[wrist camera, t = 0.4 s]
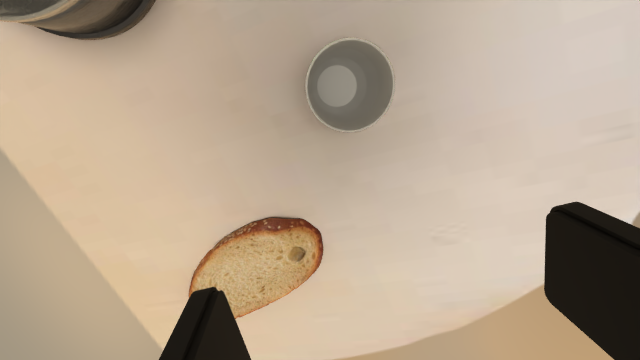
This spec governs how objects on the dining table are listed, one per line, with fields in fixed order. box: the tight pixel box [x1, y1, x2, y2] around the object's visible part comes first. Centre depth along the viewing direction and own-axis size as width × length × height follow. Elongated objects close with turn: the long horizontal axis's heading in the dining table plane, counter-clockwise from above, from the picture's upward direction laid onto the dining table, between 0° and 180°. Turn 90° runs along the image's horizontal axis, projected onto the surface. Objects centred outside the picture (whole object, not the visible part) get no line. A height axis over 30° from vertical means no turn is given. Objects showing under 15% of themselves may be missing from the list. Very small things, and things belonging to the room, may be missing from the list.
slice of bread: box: [189, 218, 323, 319], centre depth 42 cm, size 18×18×4 cm
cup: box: [305, 38, 395, 133], centre depth 32 cm, size 8×8×10 cm
